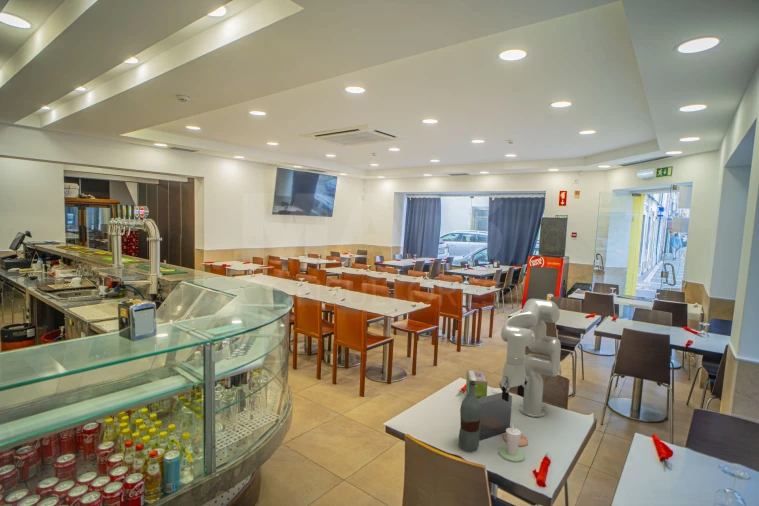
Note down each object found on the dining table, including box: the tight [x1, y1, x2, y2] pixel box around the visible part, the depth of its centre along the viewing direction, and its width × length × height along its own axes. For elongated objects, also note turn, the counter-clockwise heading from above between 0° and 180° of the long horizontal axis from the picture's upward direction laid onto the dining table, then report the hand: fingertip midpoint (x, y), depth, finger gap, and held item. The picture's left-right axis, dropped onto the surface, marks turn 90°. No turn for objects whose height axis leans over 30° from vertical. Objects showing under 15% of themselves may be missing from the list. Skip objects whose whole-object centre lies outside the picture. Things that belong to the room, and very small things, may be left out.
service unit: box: [477, 392, 513, 442], centre depth 192 cm, size 22×7×17 cm, turn 120°
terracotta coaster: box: [502, 433, 529, 448], centre depth 186 cm, size 11×11×1 cm
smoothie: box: [506, 420, 522, 455], centre depth 173 cm, size 6×6×14 cm
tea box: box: [465, 370, 488, 398], centre depth 227 cm, size 15×10×15 cm, turn 174°
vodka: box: [458, 381, 481, 453], centre depth 177 cm, size 9×9×30 cm
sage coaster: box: [498, 445, 526, 463], centre depth 174 cm, size 11×11×1 cm
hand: (512, 398), depth 174 cm, fingers open, 9 cm apart
